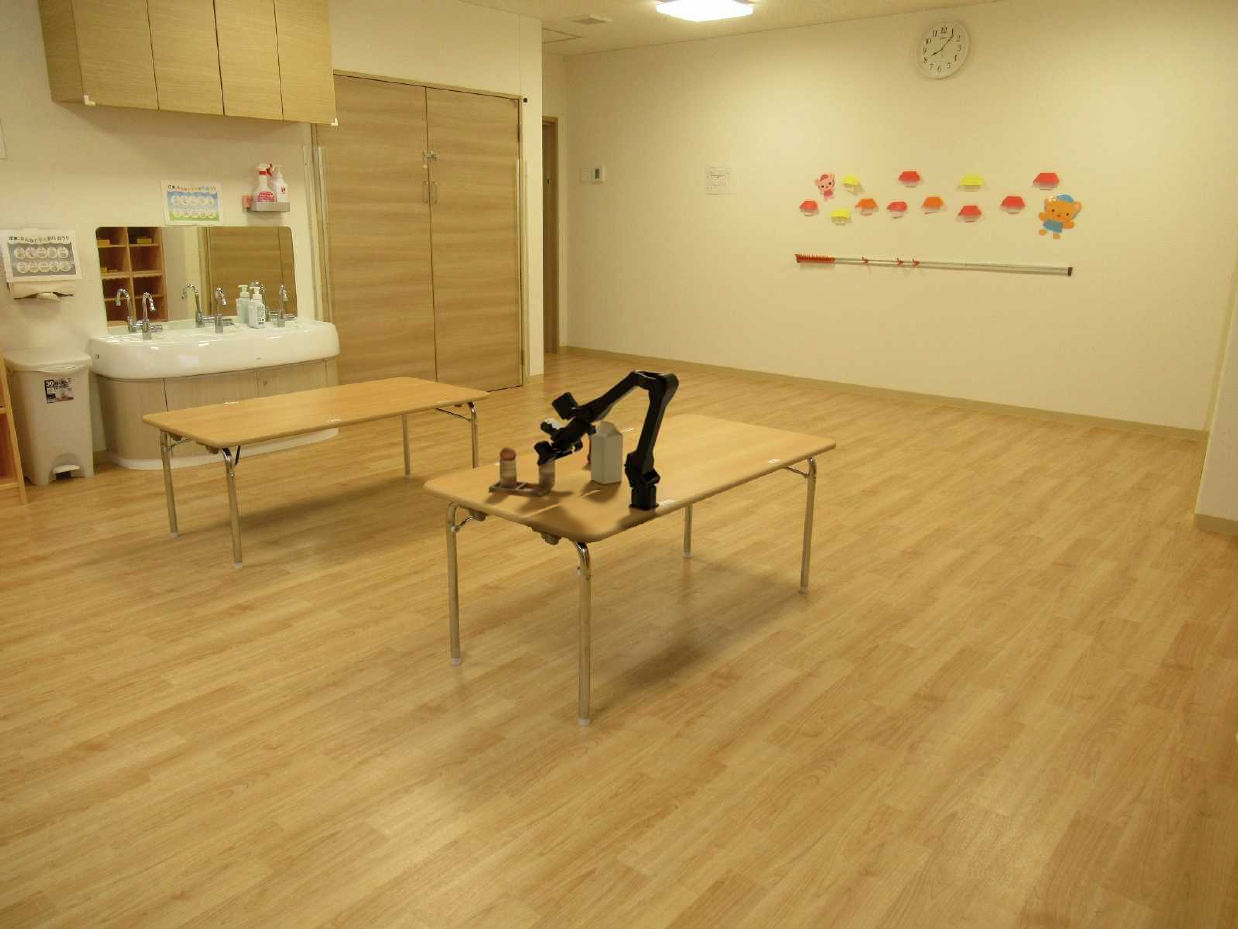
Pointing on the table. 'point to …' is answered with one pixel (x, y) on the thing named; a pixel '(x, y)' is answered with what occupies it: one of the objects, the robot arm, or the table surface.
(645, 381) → the robot arm
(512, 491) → the doll tray
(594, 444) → the milk carton
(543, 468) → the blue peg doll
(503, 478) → the red peg doll
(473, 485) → the table surface
